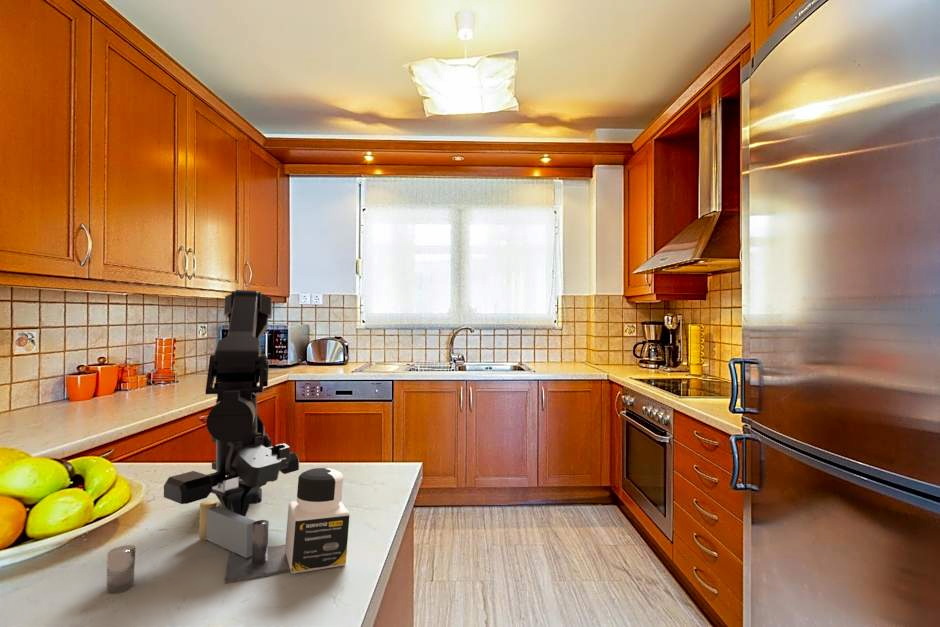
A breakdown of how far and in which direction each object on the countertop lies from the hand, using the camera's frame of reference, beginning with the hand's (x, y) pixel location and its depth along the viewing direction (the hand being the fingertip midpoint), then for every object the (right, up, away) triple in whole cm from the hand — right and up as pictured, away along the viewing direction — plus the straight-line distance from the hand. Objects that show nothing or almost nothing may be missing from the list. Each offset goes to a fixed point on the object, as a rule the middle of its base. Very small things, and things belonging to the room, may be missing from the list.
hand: (237, 529), depth 74 cm
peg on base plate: (+7, -1, -8) cm, 11 cm away
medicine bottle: (+14, -1, -7) cm, 16 cm away
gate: (0, -1, -4) cm, 4 cm away
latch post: (-7, -1, -15) cm, 16 cm away
